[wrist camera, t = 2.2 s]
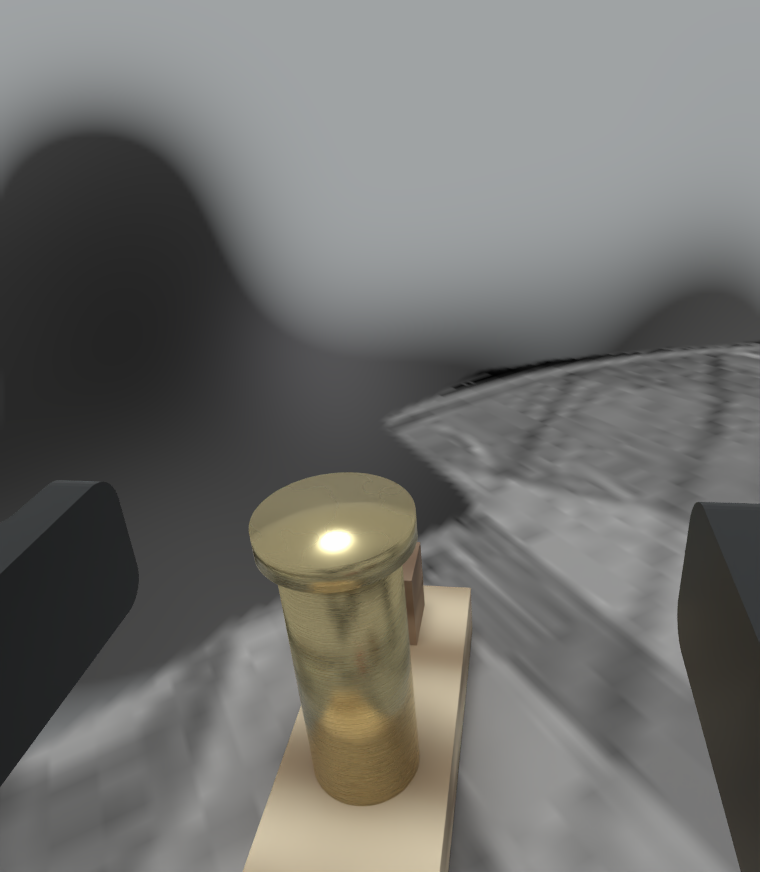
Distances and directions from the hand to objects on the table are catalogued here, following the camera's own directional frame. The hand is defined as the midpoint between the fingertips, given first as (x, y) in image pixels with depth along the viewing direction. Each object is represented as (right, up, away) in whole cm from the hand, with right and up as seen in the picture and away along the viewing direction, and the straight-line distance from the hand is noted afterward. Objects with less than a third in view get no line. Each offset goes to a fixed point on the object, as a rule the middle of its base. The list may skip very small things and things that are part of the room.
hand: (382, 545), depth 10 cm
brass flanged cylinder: (-1, -12, +19) cm, 23 cm away
